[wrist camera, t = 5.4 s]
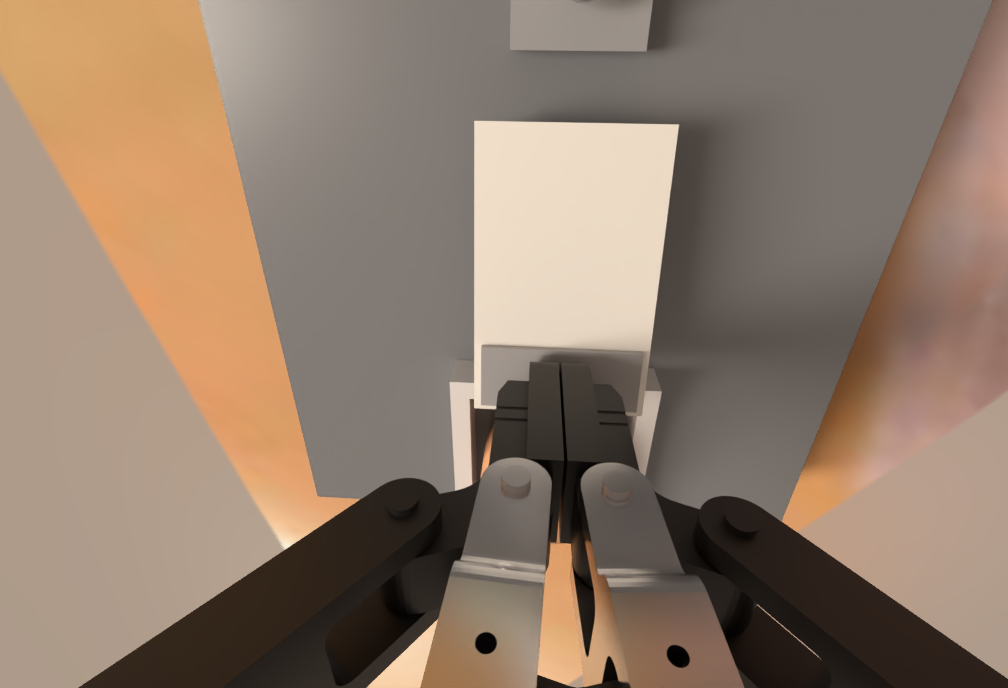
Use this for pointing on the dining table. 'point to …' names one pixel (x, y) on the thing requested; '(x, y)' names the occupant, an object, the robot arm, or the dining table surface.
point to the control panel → (580, 99)
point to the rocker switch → (568, 249)
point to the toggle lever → (584, 1)
